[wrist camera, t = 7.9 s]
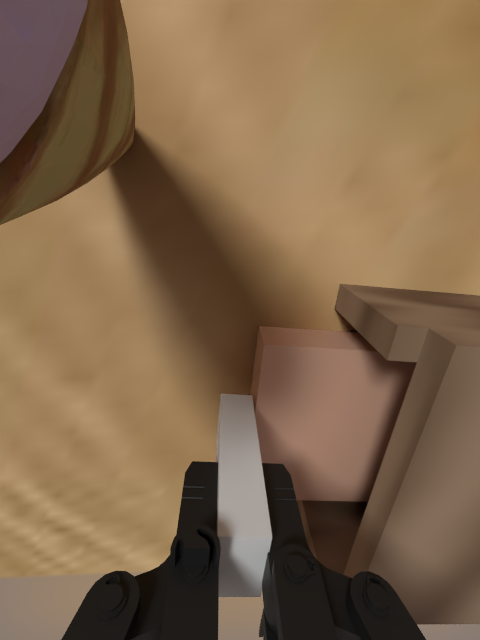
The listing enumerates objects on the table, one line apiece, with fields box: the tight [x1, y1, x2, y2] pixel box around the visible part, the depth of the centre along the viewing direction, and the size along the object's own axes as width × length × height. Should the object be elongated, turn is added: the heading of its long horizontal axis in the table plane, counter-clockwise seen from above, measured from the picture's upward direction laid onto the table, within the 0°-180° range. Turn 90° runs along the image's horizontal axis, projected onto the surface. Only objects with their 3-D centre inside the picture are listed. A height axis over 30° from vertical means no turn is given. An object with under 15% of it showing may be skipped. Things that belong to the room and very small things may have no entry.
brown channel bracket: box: [296, 284, 480, 624], centre depth 13 cm, size 10×13×8 cm
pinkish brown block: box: [251, 326, 417, 502], centre depth 16 cm, size 12×9×2 cm
